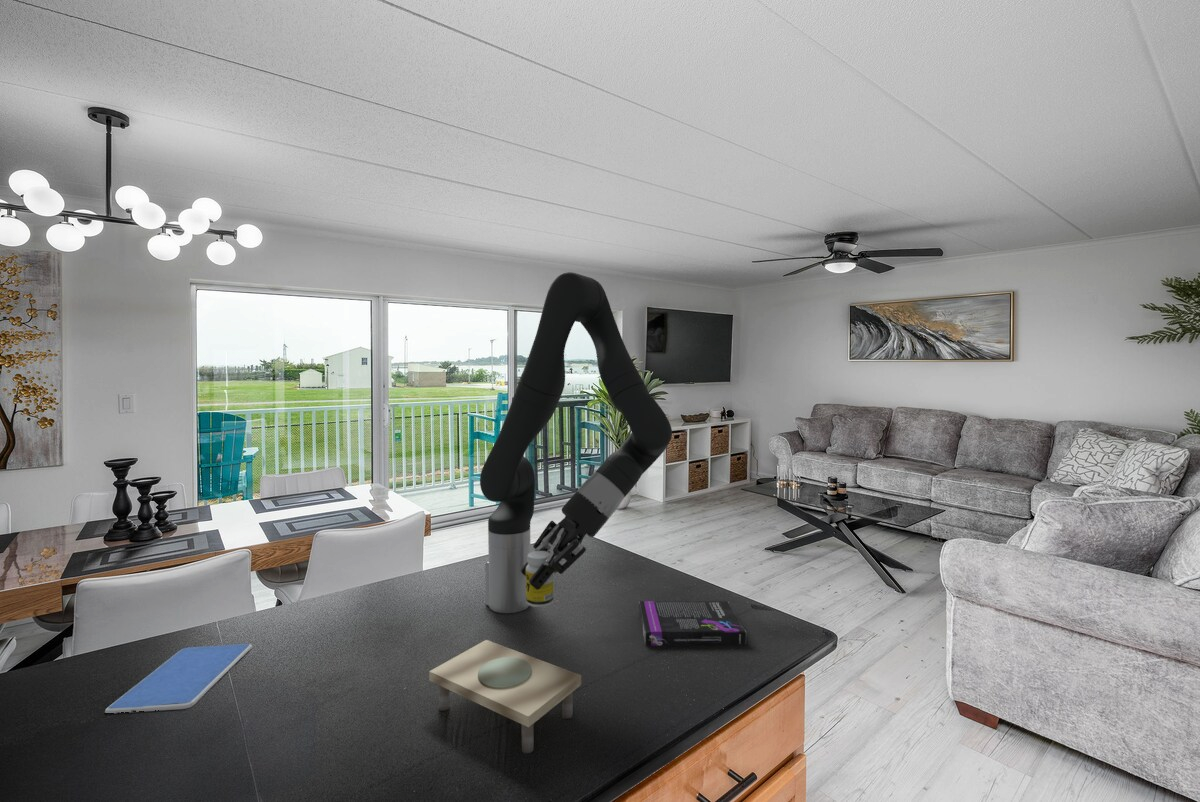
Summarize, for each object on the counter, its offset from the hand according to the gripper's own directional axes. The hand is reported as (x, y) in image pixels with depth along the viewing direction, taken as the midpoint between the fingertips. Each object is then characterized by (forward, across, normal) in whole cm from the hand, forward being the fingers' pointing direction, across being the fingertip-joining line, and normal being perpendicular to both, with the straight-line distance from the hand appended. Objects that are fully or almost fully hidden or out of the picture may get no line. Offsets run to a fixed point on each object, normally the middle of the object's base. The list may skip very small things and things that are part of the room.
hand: (529, 580), depth 94 cm
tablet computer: (+50, -22, -26) cm, 61 cm away
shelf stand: (+16, +9, +7) cm, 20 cm away
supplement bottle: (+2, 0, +4) cm, 5 cm away
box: (-12, -4, +36) cm, 39 cm away
